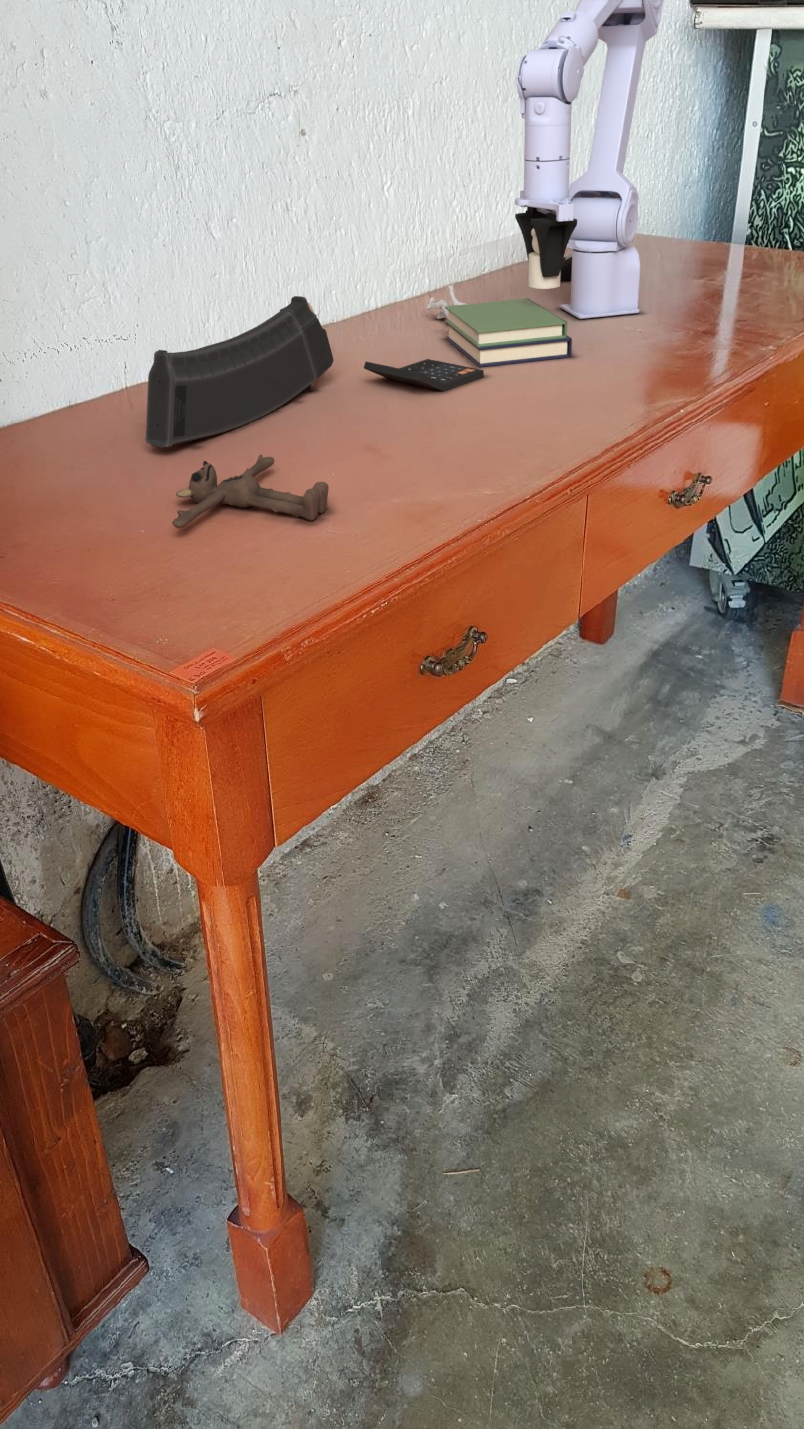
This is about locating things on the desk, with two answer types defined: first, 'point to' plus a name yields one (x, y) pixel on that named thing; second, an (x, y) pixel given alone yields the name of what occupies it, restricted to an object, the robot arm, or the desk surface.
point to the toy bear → (539, 270)
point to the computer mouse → (566, 268)
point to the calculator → (428, 374)
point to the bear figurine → (247, 494)
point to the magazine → (235, 377)
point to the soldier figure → (444, 303)
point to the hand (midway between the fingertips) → (544, 272)
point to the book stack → (507, 332)
